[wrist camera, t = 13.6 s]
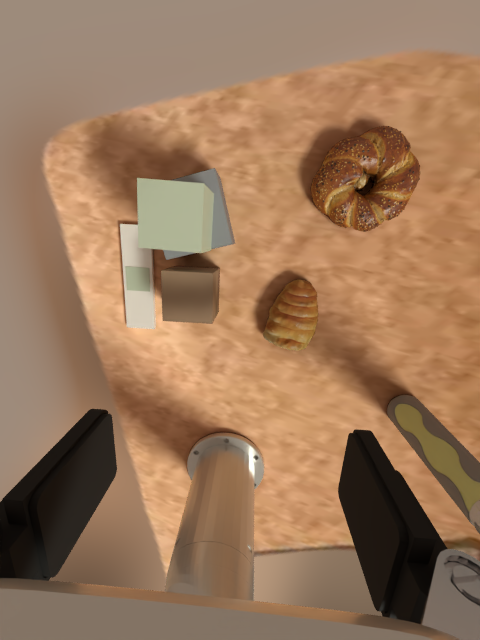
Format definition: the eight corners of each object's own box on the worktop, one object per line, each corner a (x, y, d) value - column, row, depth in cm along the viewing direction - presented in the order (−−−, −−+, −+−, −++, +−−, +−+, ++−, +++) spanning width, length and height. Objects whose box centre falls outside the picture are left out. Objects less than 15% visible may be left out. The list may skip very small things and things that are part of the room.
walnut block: (218, 311, 39) (212, 323, 33) (176, 308, 39) (162, 320, 33) (219, 268, 37) (213, 273, 31) (175, 265, 37) (160, 270, 32)
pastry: (277, 273, 37) (280, 277, 33) (326, 284, 37) (334, 289, 33) (261, 337, 40) (261, 347, 36) (306, 347, 40) (312, 358, 36)
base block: (235, 243, 36) (232, 244, 31) (177, 257, 37) (166, 259, 32) (220, 178, 34) (214, 168, 29) (159, 194, 35) (144, 187, 30)
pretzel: (311, 237, 35) (317, 237, 32) (306, 142, 33) (313, 130, 29) (408, 226, 34) (425, 224, 31) (413, 126, 31) (433, 111, 28)
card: (155, 327, 40) (154, 329, 39) (128, 325, 40) (126, 327, 39) (152, 225, 36) (150, 225, 35) (121, 224, 36) (119, 223, 35)
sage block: (211, 250, 32) (201, 253, 26) (159, 245, 32) (138, 247, 26) (214, 193, 30) (203, 183, 24) (159, 189, 30) (136, 177, 24)
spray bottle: (426, 406, 41) (576, 553, 22) (400, 427, 42) (521, 583, 23) (403, 386, 40) (538, 521, 21) (378, 408, 41) (483, 553, 22)
